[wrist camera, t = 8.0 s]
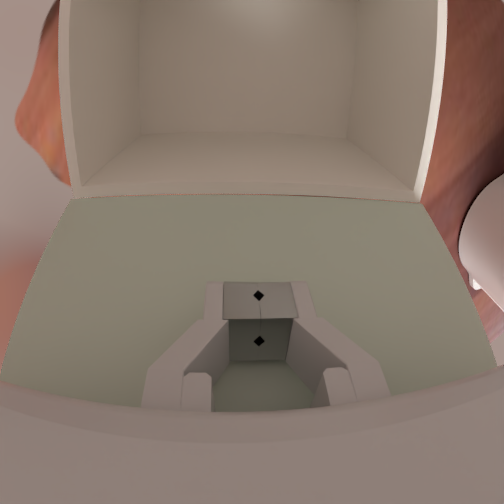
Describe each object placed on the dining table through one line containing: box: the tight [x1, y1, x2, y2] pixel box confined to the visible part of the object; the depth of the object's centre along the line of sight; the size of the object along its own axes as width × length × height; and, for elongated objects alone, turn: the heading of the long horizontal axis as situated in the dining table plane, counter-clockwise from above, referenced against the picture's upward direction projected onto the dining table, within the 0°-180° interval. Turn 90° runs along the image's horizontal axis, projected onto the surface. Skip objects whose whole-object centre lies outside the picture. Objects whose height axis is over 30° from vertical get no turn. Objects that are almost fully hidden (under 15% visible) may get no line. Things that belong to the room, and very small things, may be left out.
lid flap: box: [0, 194, 497, 412], centre depth 10 cm, size 18×14×1 cm
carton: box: [58, 0, 447, 203], centre depth 16 cm, size 18×14×12 cm
